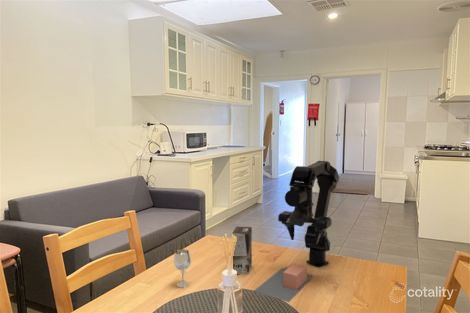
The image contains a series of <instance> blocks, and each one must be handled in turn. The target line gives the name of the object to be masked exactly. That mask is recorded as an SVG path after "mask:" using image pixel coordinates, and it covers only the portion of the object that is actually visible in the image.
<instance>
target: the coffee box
mask: <svg viewBox="0 0 470 313" xmlns="http://www.w3.org/2000/svg"><path fill="white" fill-rule="evenodd" d="M252 231H253V230H252V227H251V226H236V227H235V228H234V230H233V232H232V233H231V235H232V234H233V235H235V236H236V237H237V242H236V245H235V250H234V256H233V269H234V270H236V271H237V274H238V275H239V276H240V275H242V276H244V275H245V276H246V275H247V276H248V275H249V274H250V272H251V269H252V267H253V265H252V264H253V262H252V261H253V259H252V258H253V257H252V256H253V252H252V251H253V248H252V246H253V244H252V240H253V237H252V236H253V235H252V233H253V232H252Z"/></svg>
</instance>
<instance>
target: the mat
mask: <svg viewBox="0 0 470 313" xmlns="http://www.w3.org/2000/svg"><path fill="white" fill-rule="evenodd" d="M287 269H288V268H284V267H281V268H280V269H279V270H278V271H277V272H275V273H274V274H272V275H271V276H270V277H269V278H268V279H267V280H265V281H264V282H263V283H262V284H260V285H259V286H257V288H255V289H254V290H253V292H255V293H259V294H260V295H265V296H268V297H270V298H271V297H272V298H274V299H278V300H281V301H284V302H288V303H290V301H291V300H293V298H294V297H296V296H297V295H298V294H299V292H300V291H301V290H302V289H303V288H304V287H305V286H306V285H307V284H308V283H309V282H310V281H311V280H312V279H313V278H314V277H315V275H312V274H308V273H307V280H306V281H305V282H304V283H303V284H302V285H301V286H300V287H299V288H298V289H297V290H295V289H291V288H288V287H284V286H283V272H284V271H285V270H287Z"/></svg>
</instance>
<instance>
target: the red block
mask: <svg viewBox="0 0 470 313" xmlns="http://www.w3.org/2000/svg"><path fill="white" fill-rule="evenodd" d="M286 269H287V270H285V271H284V272H283V286H284V287H288V288H291V289H295V290H297V289H298V288H299V287H300V286H301V285H302V284H303V283H304V282H305V281H306V280H307V274H308V266H307V265H302V264H297V263H293V264H291V265H290V266H289V267H288V268H286Z"/></svg>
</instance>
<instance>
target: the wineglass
mask: <svg viewBox="0 0 470 313" xmlns="http://www.w3.org/2000/svg"><path fill="white" fill-rule="evenodd" d="M191 262H192V261H191V254H190V251H189V250H188V249H177V250H176V251H175V252H174V258H173V264H174V267H175V269H177V270H180V271H181V272H180V273H181V274H180V275H181V279H182V280H181V281H179V282H177V283H176V286H177V288H187V287H189V286H190V283H189V282H188V281H184V276H185V271H184V270H187V269H189V267H190V266H191Z"/></svg>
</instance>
